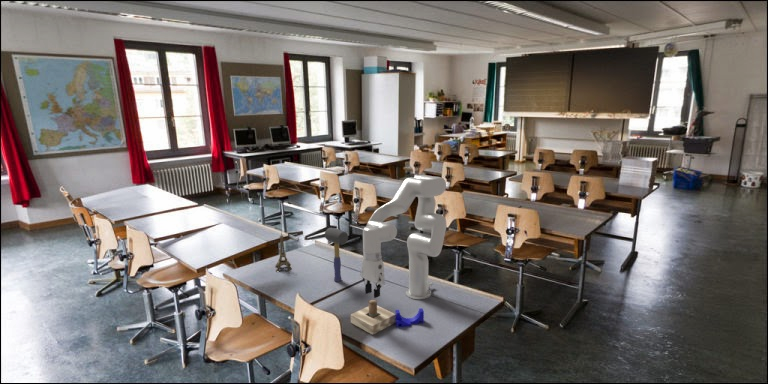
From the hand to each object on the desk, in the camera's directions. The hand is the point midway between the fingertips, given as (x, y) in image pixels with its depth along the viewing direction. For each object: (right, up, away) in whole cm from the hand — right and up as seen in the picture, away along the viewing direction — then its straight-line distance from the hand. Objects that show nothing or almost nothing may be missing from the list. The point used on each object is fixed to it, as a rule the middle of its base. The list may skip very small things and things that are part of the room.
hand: (372, 294), depth 181 cm
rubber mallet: (-20, -5, +45) cm, 50 cm away
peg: (0, -13, +3) cm, 13 cm away
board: (0, -13, +3) cm, 13 cm away
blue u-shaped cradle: (+16, -14, +2) cm, 21 cm away
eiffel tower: (-54, -1, +63) cm, 83 cm away
